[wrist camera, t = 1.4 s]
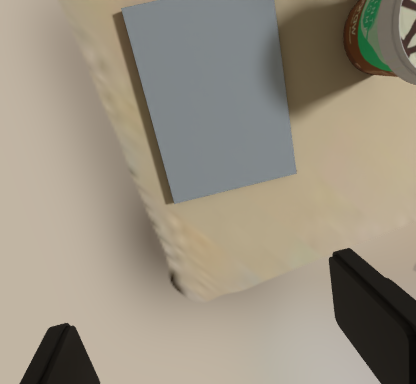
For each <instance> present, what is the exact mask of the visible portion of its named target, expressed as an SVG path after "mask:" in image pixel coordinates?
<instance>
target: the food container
mask: <svg viewBox="0 0 416 384" xmlns="http://www.w3.org/2000/svg"><path fill="white" fill-rule="evenodd" d="M343 38H344V47H345V51H346V54H347V56H348V58H349V60H350V61H351V62H352V64H353V65H354V66H355V67H356V68H357V69H359V70H361V71H362V72H365V73H367V74H372V75H382V76H394V77H399V78H401V79H403V80H404V81H406V82H409V83H411V84H414V85H416V0H359V1H358V2H357V3H356V5H355V6H354V7H353V8H352V10H351V11H350V13H349V16H348V18H347V20H346V23H345V27H344V35H343Z"/></svg>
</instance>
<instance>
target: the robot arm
mask: <svg viewBox="0 0 416 384" xmlns="http://www.w3.org/2000/svg"><path fill="white" fill-rule="evenodd" d="M329 265H330V275H331V283H332V284H331V285H332V294H333V303H334V312H335V318H336V321H337V323H338V325H339V327H340V328H341V330H342V331H343V332H344V334H345V335H346V337H347V338H348V339H349V340H350V342H351V343H352V345H353V346H354V347H355V349H356V350H357V352H358V353H359V354H360V356H361V357H362V358H363V360H364V361H365V362H366V364H367V365H368V366H369V368H370V369H371V370H372V372H373V373H374V375H375V376H376V377H377V379H378V380H379V381H380V383H381V384H416V300H415V299H414V298H412V297H411V296H410V295H409V294H407V293H406V292H405V291H404V290H403V289H401V288H400V287H399V286H398V285H397V284H395V283H394V282H393V281H392V280H390V279H389V278H385V277H384V276H383V275H381V274H380V273H379V272H378V271H376V270H375V269H374V268H373V267H372V266H371V265H369V264H368V263H367V262H366V261H365V260H364V259H362V258H361V257H360V256H359V255H357V254H356V253H355V252H354V251H353V250H352V249H350V248H347V249H343V250H339V251H335V252H333V257H330V258H329ZM20 384H100V381H99V378H98V376H97V374H96V372H95V370H94V367H93V365H92V363H91V361H90V359H89V357H88V354H87V352H86V350H85V348H84V345H83V343H82V341H81V339H80V336H79V334H78V332H77V330H76V328H75V327H74V326H70V325H69V324H68V323H64V324H60V325H57V326H53V327H50V328H49V329H48V330H47V332H46V334H45V336H44V338H43V340H42V342H41V344H40V345H39V348H38V349H37V351H36V353H35V355H34V357H33V359H32V361H31V363H30V365H29V367H28V368H27V370H26V373H25V374H24V376H23V378H22V380H21V382H20Z"/></svg>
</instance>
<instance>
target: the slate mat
mask: <svg viewBox="0 0 416 384" xmlns="http://www.w3.org/2000/svg"><path fill="white" fill-rule="evenodd" d="M121 10H122V13H123V17H124V21H125V24H126V28H127V32H128V35H129V39H130V43H131V46H132V50H133V54H134V57H135V61H136V65H137V68H138V72H139V76H140V79H141V83H142V87H143V90H144V94H145V98H146V101H147V105H148V109H149V112H150V116H151V120H152V123H153V127H154V130H155V134H156V138H157V141H158V145H159V149H160V152H161V156H162V160H163V163H164V167H165V171H166V174H167V178H168V182H169V185H170V189H171V193H172V196H173V200H174V204H176V203H180V202H184V201H188V200H192V199H196V198H200V197H204V196H208V195H212V194H216V193H220V192H224V191H228V190H232V189H236V188H240V187H244V186H248V185H252V184H256V183H260V182H264V181H268V180H272V179H276V178H280V177H285V176H289V175H293V174H297V173H296V165H295V158H294V150H293V142H292V134H291V127H290V119H289V111H288V104H287V96H286V88H285V80H284V73H283V65H282V57H281V49H280V42H279V34H278V26H277V18H276V11H275V3H274V0H157V1H153V2H148V3H143V4H139V5H134V6H130V7H125V8H121Z"/></svg>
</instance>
